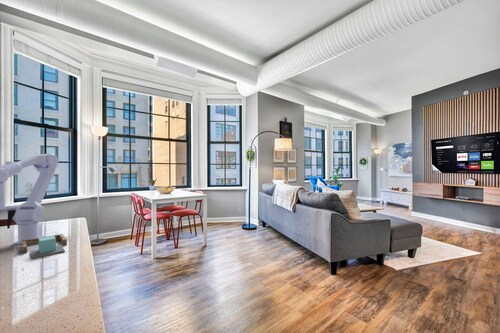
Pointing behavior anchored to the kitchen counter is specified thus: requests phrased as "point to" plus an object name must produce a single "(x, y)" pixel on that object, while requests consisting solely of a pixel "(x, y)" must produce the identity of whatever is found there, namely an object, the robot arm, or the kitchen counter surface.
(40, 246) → the teal block
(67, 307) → the kitchen counter surface
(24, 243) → the brown u-shaped bracket
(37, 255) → the charcoal mat
